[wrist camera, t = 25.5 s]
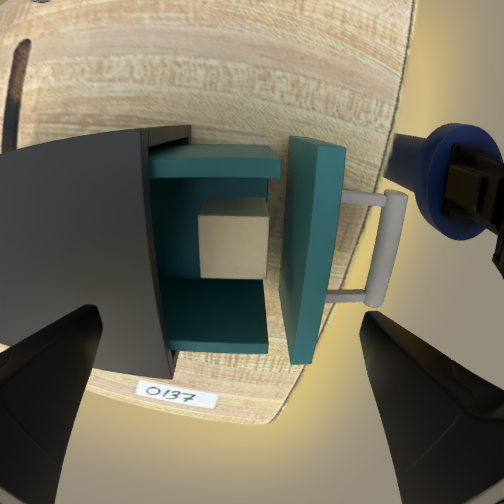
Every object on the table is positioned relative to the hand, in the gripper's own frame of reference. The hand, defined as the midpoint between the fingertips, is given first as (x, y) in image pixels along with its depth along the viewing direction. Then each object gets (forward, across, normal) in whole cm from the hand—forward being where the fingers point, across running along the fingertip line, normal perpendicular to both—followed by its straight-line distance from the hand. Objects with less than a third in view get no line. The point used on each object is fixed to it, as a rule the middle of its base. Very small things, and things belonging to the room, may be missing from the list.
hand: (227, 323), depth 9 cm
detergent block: (+11, 0, 0) cm, 11 cm away
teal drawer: (+12, 0, +1) cm, 12 cm away
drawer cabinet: (+13, +11, 0) cm, 17 cm away
